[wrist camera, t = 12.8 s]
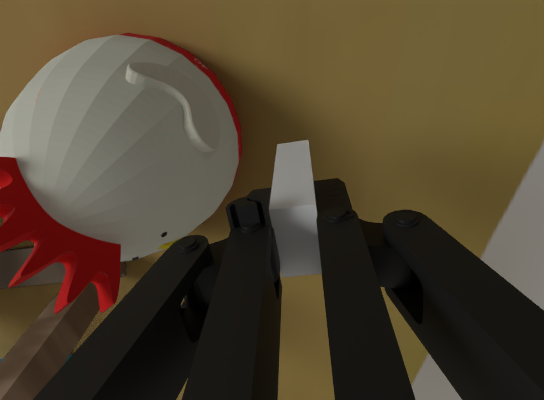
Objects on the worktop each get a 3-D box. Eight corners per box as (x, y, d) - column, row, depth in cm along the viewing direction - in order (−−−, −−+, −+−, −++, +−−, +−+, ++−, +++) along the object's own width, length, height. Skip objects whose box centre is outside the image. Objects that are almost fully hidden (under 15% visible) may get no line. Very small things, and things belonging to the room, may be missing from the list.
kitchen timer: (158, 247, 31) (55, 426, 18) (16, 127, 26) (-265, 247, 13) (281, 148, 26) (267, 293, 13) (132, -19, 22) (-126, -62, 8)
